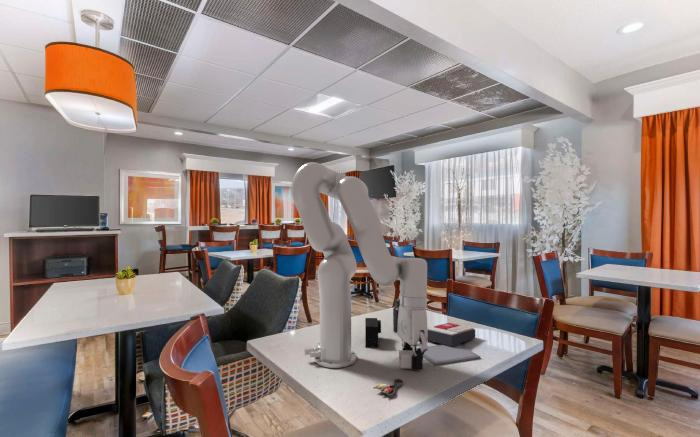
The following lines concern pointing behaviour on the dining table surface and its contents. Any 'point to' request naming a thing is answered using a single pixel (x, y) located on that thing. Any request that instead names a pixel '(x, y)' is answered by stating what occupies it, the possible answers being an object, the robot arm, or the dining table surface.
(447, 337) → the grey product box
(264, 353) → the dining table surface
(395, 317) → the supplement bottle
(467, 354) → the desk pad
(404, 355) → the usb wall charger
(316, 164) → the robot arm
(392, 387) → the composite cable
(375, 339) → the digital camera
